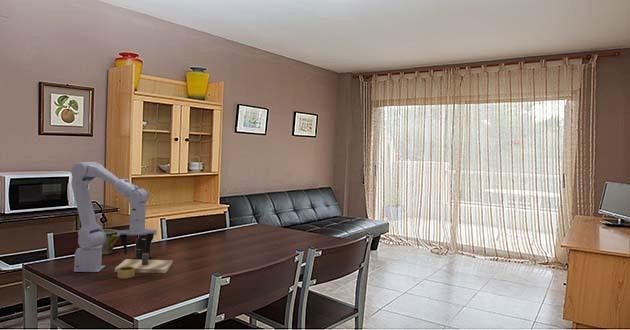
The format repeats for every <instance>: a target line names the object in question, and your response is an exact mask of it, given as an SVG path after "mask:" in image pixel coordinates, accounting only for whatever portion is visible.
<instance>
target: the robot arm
mask: <svg viewBox="0 0 630 330" xmlns="http://www.w3.org/2000/svg"><path fill="white" fill-rule="evenodd" d="M70 172H71V188H72V192H73V198H74V200H75V204H76V209H77V212H78V213H77V214H78V217H79V221H80V225H81V227H80V229H79V230H78V231H77V235H78V238H77V243H78V246H79V247H77V248H76V250H75V253H74V263H73V265H74V267H73V272H75V273H77V272H78V273H79V272H80V273H81V272H83V273H99V272H100V271H102V270H103V269H104V268H105V267H106V265H102V263H103V262H102V261H103V260H102V256H103V254H102V246H103V243H104V242H105V241H106V234H105V232H104V231H103V227H102V226H101V224H99V223H97V222H98V221H97V220H96V215H95V214H96V213H95V210H94V207H93V203H92V199H91V195H90V191H89V187H88V186H89V184H90V183H91V182H92V180H95V178H99V179H101V180H103V181H104V182H107V183H108V184H110V185H112V186H114V191H116V192H117V193H119V194H120V195H122V196H123V197H124V198H126V199H127V202H128V204H129V229H122V230H121V229H120V230H117V229H116V230H117V236H118V237H119V238H120V241H121V243H122V247H123V249H124V255H128V250H127V249H128V245H127V244H128V242H127V241H128V236H138V235H146V253H148V249H149V246H150V243H151V241H152V242H153V240H154V236H156V235H157V229H153V228H151V229H149V228H148V229H147V228H146V210H147V202H148V201H149V198H150V193H149V191H148V190H146V188H143V187H142V188H139V186H138V185H135V184H133V183H132V182H130V179H128V178H121V179H120V178H118V177H117V176H116V175H115V174H114V173H112V172H110V170H108V169H106V168H105V167H104V165H103V164H101V163H99V162H98V161H95V160H94V161H83V162H82V161H78V162H75V163H74V164H73V166H72V167H71V168H70Z"/></svg>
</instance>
